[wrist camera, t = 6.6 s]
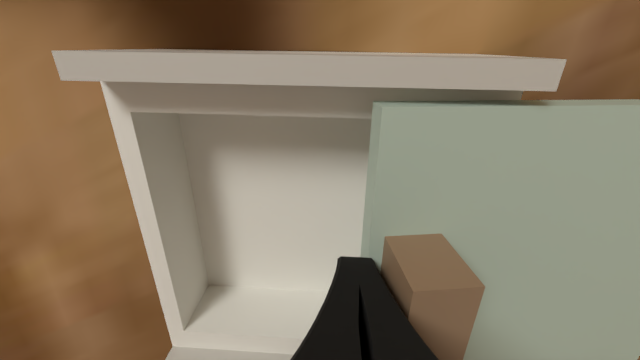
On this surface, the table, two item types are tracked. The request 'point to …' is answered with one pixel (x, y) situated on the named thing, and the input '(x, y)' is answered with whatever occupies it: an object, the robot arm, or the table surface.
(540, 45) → the table surface
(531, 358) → the cover plate
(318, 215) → the box
